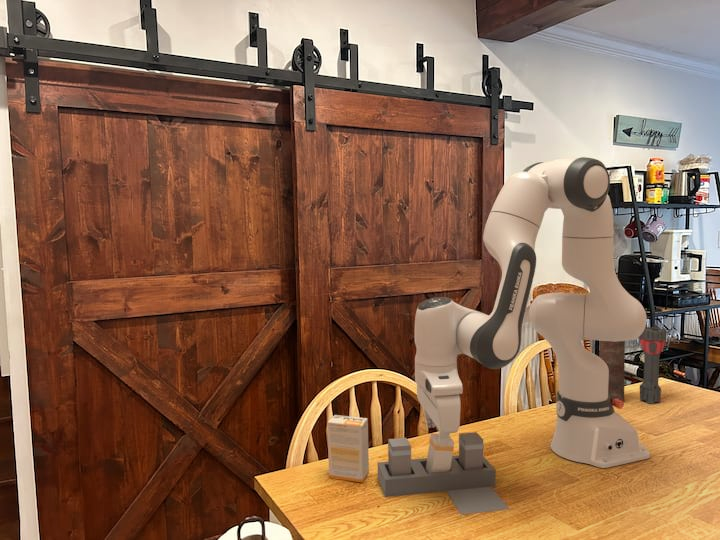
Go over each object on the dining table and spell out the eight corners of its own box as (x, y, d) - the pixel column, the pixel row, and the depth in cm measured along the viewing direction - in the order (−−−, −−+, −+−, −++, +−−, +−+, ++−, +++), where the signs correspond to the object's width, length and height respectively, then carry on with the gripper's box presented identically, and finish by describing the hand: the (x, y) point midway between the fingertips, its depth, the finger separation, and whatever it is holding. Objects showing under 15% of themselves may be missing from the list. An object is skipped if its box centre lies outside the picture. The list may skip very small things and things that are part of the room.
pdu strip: (480, 470, 120) (481, 453, 120) (495, 487, 112) (495, 469, 112) (377, 479, 116) (377, 462, 116) (385, 498, 109) (385, 479, 108)
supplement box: (369, 473, 119) (369, 417, 118) (362, 483, 115) (362, 425, 114) (335, 468, 122) (334, 413, 121) (327, 478, 117) (326, 421, 116)
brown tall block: (601, 403, 163) (603, 339, 161) (594, 395, 170) (596, 334, 168) (627, 404, 162) (629, 340, 160) (619, 396, 169) (622, 335, 167)
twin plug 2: (476, 466, 118) (476, 432, 117) (483, 475, 114) (483, 439, 113) (458, 468, 117) (458, 433, 116) (465, 476, 113) (465, 441, 112)
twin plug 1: (406, 472, 115) (406, 437, 114) (411, 482, 111) (411, 445, 110) (388, 474, 115) (387, 439, 114) (392, 483, 111) (392, 447, 110)
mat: (489, 485, 113) (489, 484, 113) (509, 511, 103) (509, 509, 103) (444, 490, 112) (444, 488, 112) (460, 516, 102) (460, 514, 102)
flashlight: (648, 394, 171) (651, 324, 168) (669, 401, 163) (672, 329, 161) (629, 396, 168) (632, 326, 166) (650, 404, 161) (653, 331, 159)
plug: (443, 469, 117) (448, 434, 116) (449, 478, 113) (454, 442, 112) (425, 468, 116) (430, 433, 115) (430, 477, 112) (436, 441, 111)
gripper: (409, 360, 122) (410, 417, 124) (434, 391, 102) (435, 458, 104) (436, 358, 123) (436, 415, 125) (466, 388, 103) (466, 455, 105)
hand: (436, 435), depth 114 cm, fingers open, 8 cm apart
